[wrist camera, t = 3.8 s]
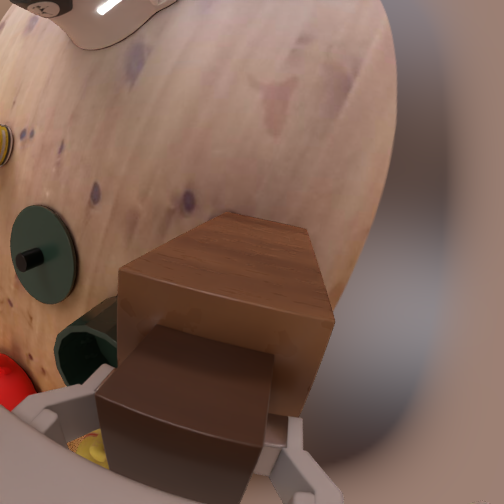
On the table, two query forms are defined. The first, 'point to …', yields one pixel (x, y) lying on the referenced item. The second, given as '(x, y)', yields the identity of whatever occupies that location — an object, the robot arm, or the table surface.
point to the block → (187, 415)
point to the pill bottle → (5, 143)
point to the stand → (235, 297)
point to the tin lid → (43, 254)
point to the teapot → (13, 383)
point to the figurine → (93, 448)
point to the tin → (88, 343)
